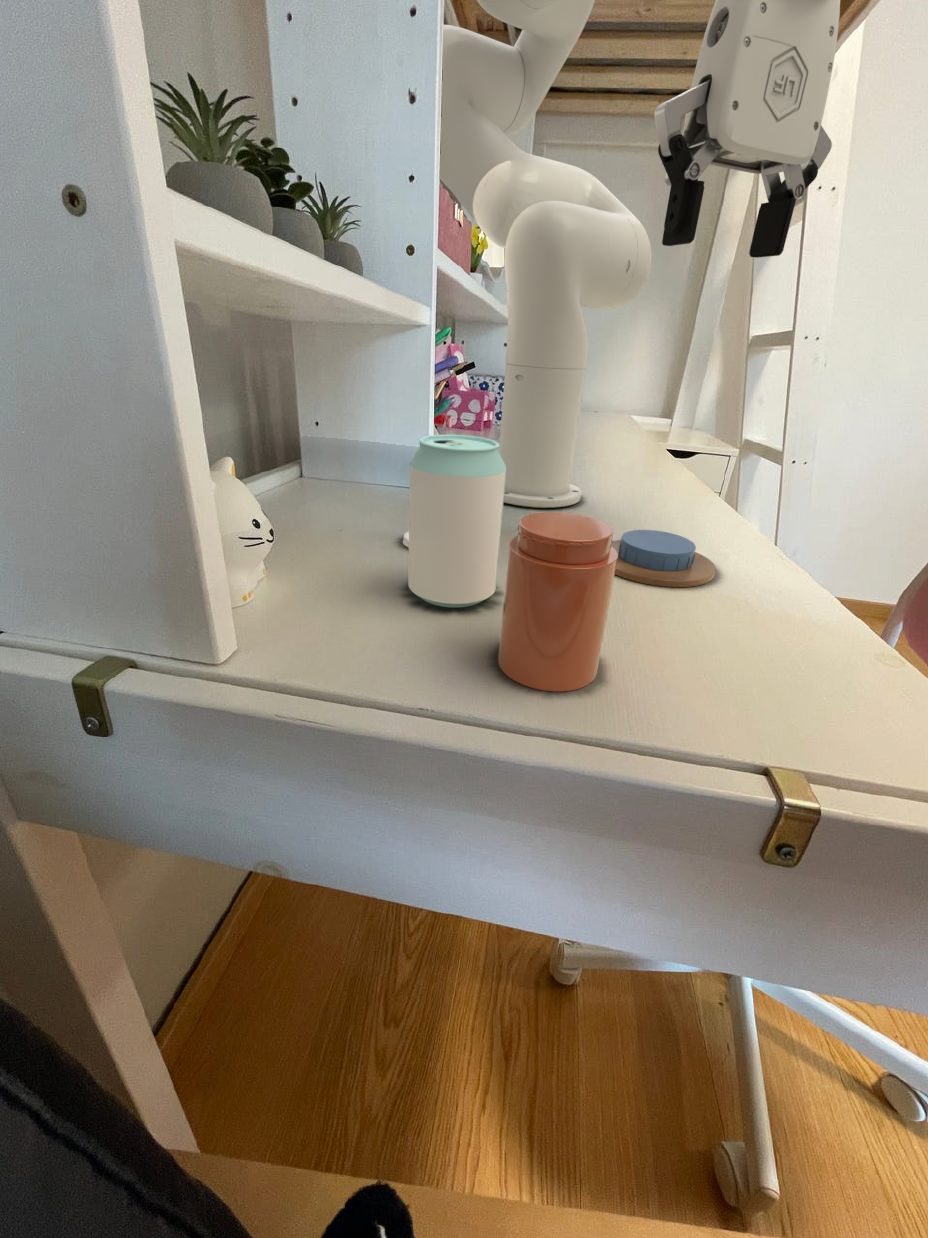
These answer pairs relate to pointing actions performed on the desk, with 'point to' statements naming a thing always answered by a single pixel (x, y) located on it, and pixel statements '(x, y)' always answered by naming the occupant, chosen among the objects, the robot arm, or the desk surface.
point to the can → (455, 519)
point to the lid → (657, 550)
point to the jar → (556, 600)
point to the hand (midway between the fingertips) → (722, 250)
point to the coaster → (667, 572)
